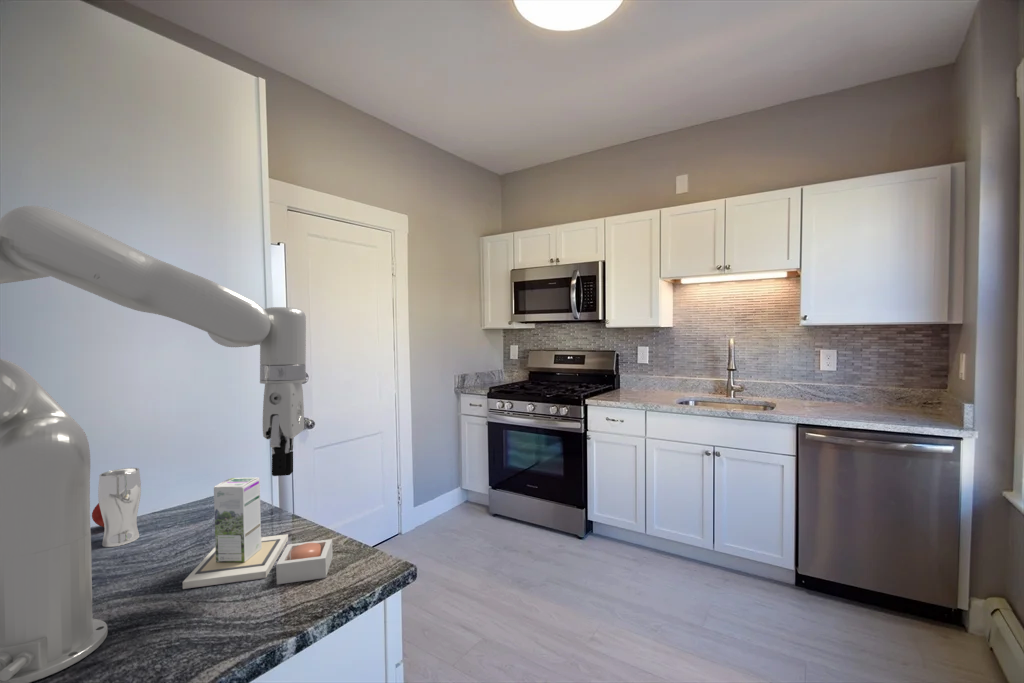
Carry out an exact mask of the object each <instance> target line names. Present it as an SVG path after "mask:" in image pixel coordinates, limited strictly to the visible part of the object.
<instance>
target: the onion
mask: <svg viewBox="0 0 1024 683" xmlns="http://www.w3.org/2000/svg"><path fill="white" fill-rule="evenodd" d="M91 519H92V521H93V522H94V523H95V524H96V525H98V526H99V527H103V528H104V522H103V518H102V514H101V510H100V506H99V502H98V503H97V504H96V505H95V507H94V508H93V510H92V513H91Z"/></svg>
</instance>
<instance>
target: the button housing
mask: <svg viewBox="0 0 1024 683" xmlns="http://www.w3.org/2000/svg"><path fill="white" fill-rule="evenodd" d="M306 543H318V544H320V546H321V556H319V557H311V558H303V559H295V560H291V550H292V549H293V548H295V547H297V546H299V545H302V544H306ZM333 548H334V547H333V538H331V539H322V540H321V539H320V540H313V541H305V542H304V541H303V542H298V543H288V544H287V545H286V546H285V547H284V549H283V552H282V554H280V555H281V556H280V557H279V559H278V561H276V565H275V566H276V567H275V569H276V573H275V574H276V585H283V584H289V583H297V582H298V583H299V582H305V581H312V580H318V579H326V578H327V575H328V572H329V570H330V567H331V563H332V562H333V561H332V560H333V558H334V557H333V556H334V555H333V553H334V552H333Z"/></svg>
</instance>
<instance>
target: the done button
mask: <svg viewBox="0 0 1024 683" xmlns="http://www.w3.org/2000/svg"><path fill="white" fill-rule="evenodd" d="M319 556H321V546H320V544H318V543H306V544H302V545H299V546H297V547H295V548H293V549H292V550H291V560H295V559H303V558H311V557H319Z"/></svg>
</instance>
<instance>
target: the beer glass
mask: <svg viewBox="0 0 1024 683" xmlns="http://www.w3.org/2000/svg"><path fill="white" fill-rule="evenodd" d="M98 476H99V477H98V490H97V491H98V492H97V495H98V496H97V497H98V503H99V506H100V510H101V514H102V518H103V522H104V527H103V528H104V533H103V538H102V543H101V545H102V547H104V548H114V547H119V546H124V545H127V544H131V543H133V542H135V541H137V540H138V539H139V538H140V532H139V528H138V525H137V524H138V522H137V521H138V513H139V506H140V503H141V495H142V485H141V483H142V482H141V481H142V480H141V474H140V468H138V467H124V468H118V469H117V468H116V469H113V470H109V471H105V472H101V473H100V474H99V475H98Z"/></svg>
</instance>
